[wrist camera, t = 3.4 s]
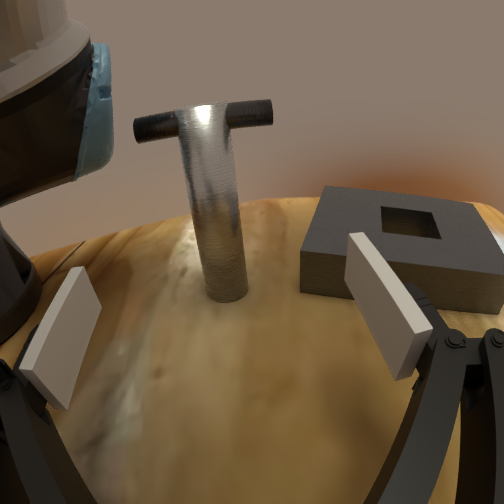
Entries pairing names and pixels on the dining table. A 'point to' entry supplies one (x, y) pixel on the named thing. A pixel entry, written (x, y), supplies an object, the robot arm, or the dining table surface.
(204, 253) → the chuck key
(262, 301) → the dining table surface
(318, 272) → the block
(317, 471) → the dining table surface
